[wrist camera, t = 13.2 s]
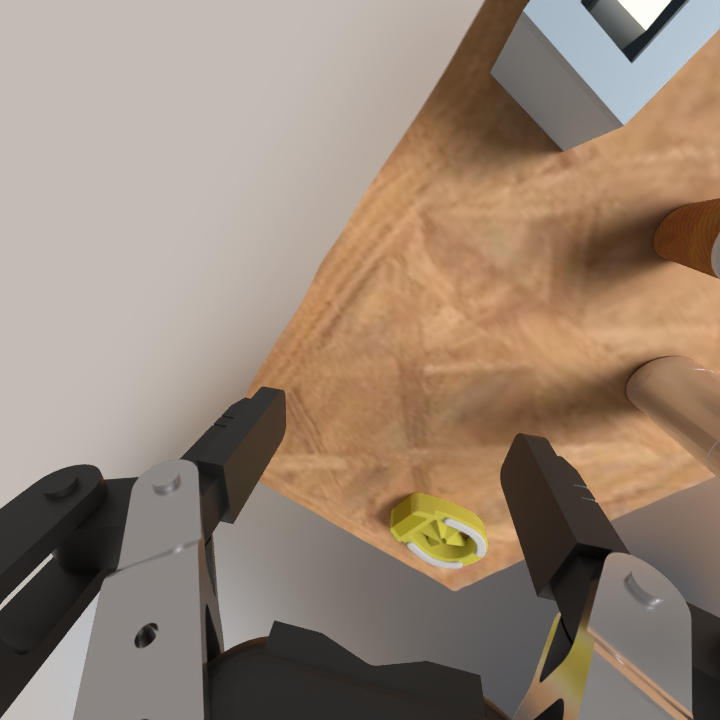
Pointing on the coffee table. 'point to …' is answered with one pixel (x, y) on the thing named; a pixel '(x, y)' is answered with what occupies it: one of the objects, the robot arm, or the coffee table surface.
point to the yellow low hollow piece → (438, 531)
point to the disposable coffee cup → (692, 237)
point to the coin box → (595, 64)
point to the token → (625, 17)
